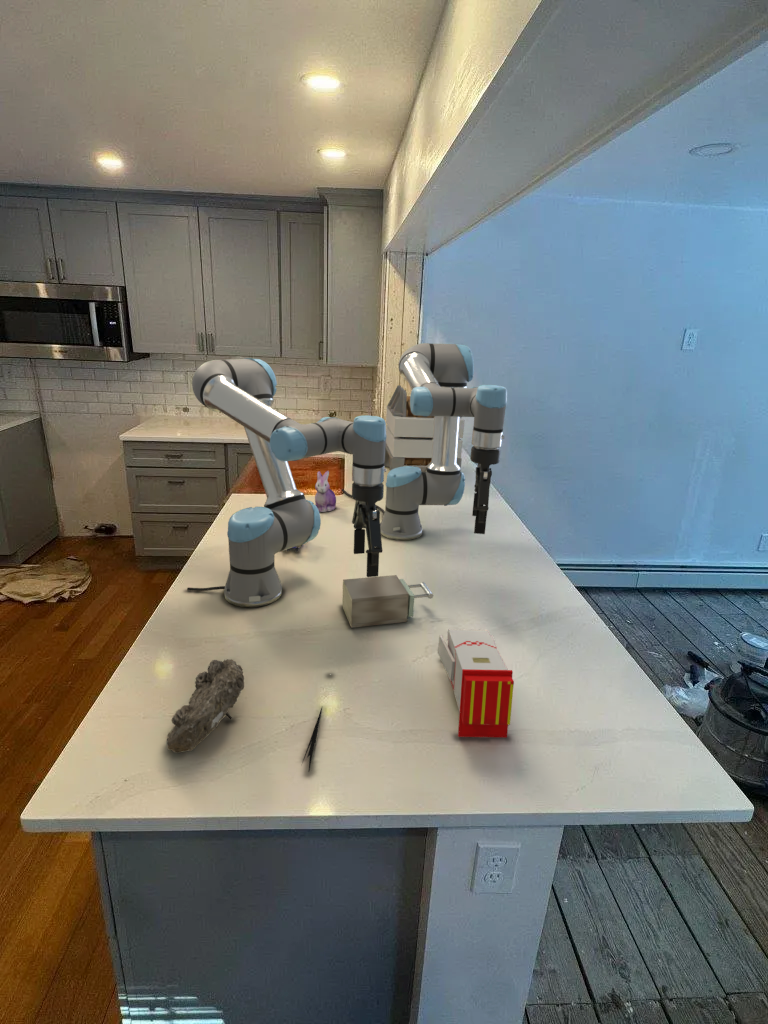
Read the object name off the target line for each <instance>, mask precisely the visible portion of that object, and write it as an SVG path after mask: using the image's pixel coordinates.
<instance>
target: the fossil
mask: <svg viewBox="0 0 768 1024" xmlns="http://www.w3.org/2000/svg"><path fill="white" fill-rule="evenodd" d="M243 670H244V669H243V667H242V665H240V664H237V662H236V661H235V660H234V659H232V658H231V659H227V658H226V659H224V660H223V661H222V660H217V659H212V660H211V661H210V663H209V665H208V666H207V671H201V672H199V673H198V674H197V675H196V676H195V680H194V684H195V685H194V687H195V689H194V690H193V693H192V694H191V697H190V698H189V700H188V704H184V705H182V706H181V707H180V709H177V710H176V711H175V713H174V715H173V716H172V718H171V723H172V724H173V727H172V730H171V731H170V732H168V734H167V738H166V741H167V742H166V745H167V749H168V750H169V751H173V752H174V753H176V754H178V753H182V752H188V751H189V752H192V751H193V750H195V748H196V747H197V746H199V744H200V743H201V742H203V741H204V740H205V739H206V738H207V737H208V736H209V735H210V734H211V733H212V732H214V730H215V729H217V727H218V726H219V724H220V722H221V721H222V720H223V719H224V718H225V716H226V717H227V719H229V720H233V717H232V715H230V714H229V710H230V709H231V708H234V706H235V704H236V703H237V702H238V699H239V697H240V695H241V693H242V691H243V690H245V689H244V688H245V675H244V671H243Z"/></svg>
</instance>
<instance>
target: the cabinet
mask: <svg viewBox="0 0 768 1024" xmlns="http://www.w3.org/2000/svg"><path fill="white" fill-rule="evenodd" d="M399 579H400V578H399V577H398V575H397V574H393V575H392V574H391V575H380V576H379V575H378V576H375V577H358V578H346V579H342V603H341V604H342V605H341V606H342V609H343V612H344V614H345V617H346V619H347V621H348V623H349V626H350V628H352V629H353V628H362V627H370V626H379V625H380V626H381V625H389V624H398V623H408V615H407V612H408V597H409V593H408V592H407V590H406V589H405V587H404V586H403V584H402V583H401V581H400V580H399Z"/></svg>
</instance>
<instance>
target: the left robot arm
mask: <svg viewBox="0 0 768 1024" xmlns="http://www.w3.org/2000/svg"><path fill="white" fill-rule="evenodd" d="M276 377H277V376H276V375H275V372H274V371H273V368H272V367H271V366H270V365H269V364H268V363H267V362H266V361H264V360H263V359H260V358H251V357H244V358H231V359H229V358H228V359H213V360H208V361H206V362H204V363H202V364H201V365H200V366H198V368H197V369H196V370H195V372H194V374H193V376H192V381H191V388H192V393H193V394H194V396H195V398H196V400H197V401H198V402H199V403H200V404H201V405H202V406H204V407H205V408H207V409H208V410H210V411H212V412H215V413H218V412H220V413H222V414H223V415H225V416H227V417H228V418H230V419H231V420H233V421H235V422H236V423H237V424H239V425H240V426H242V427H243V428H244V431H245V434H246V435H245V436H246V437H247V441H248V444H249V446H250V450H251V453H252V456H253V459H254V462H255V465H256V467H257V473H258V475H259V478H260V481H261V483H262V488H263V489H264V493H265V496H266V501H265V502H264V504H263V506H254V507H252V506H250V507H245V508H242V509H239V510H238V511H236V512H234V513H232V515H230V517H229V519H228V522H227V532H226V533H227V539H228V557H229V572H228V574H227V578H226V581H225V585H221V586H220V585H219V586H211V587H209V586H208V587H186V590H187V591H190V592H191V591H192V592H208V591H215V590H216V591H218V590H223V594H224V599H225V600H226V602H228V603H229V604H231V605H233V606H237V607H241V608H242V607H243V608H257V607H264V606H266V605H270V604H272V603H274V602H276V601H278V600H279V599H280V597H282V595H283V586H282V582H281V580H280V577H279V574H278V571H277V569H276V566H275V564H276V563H275V555H276V554H278V553H280V552H281V553H282V552H284V551H287V549H289V550H290V549H294V548H293V547H295V546H298V545H302V546H303V545H305V544H307V543H308V542H311V541H313V540H314V539H316V537H317V536H318V535H319V531H320V530H321V525H322V523H321V521H322V520H321V519H322V518H321V512H319V510H318V508H317V507H316V504H315V503H314V502H313V501H311V500H309V499H306V495H305V493H304V492H302V491H300V490H299V489H297V485H296V482H295V480H294V479H295V478H294V476H293V472H292V470H291V467H290V464H289V462H296V461H297V462H298V461H300V460H304V459H307V458H311V457H316V456H323V455H327V454H331V453H336V452H340V453H344V454H348V455H352V464H351V481H352V484H351V495H352V497H353V498H352V497H351V498H352V499H353V500H354V509H353V515H352V520H351V524H352V525H353V529H354V530H353V555H360V554H365V553H366V578H368V577H379V570H380V569H379V567H380V554H381V553H383V542H382V535H381V529H380V523H381V510H380V509H378V508H377V507H375V505H376V503H377V502H380V501H382V500H383V499H384V488H385V485H384V482H385V481H384V480H385V473H386V472H387V468H386V467H385V466H384V464H385V462H384V460H385V445H386V437H387V436H386V426H387V423H386V419H384V418H383V417H381V416H377V415H358V416H356V417H354V418H353V421H350V420H345V419H341V418H339V417H336V416H335V417H334V416H333V417H331V416H324V417H322V418H320V419H319V420H318V421H317V422H311V423H304V424H303V423H299V422H298V421H296V420H294V419H292V418H290V417H289V416H287V415H286V414H284V413H282V412H280V410H279V411H278V410H277V409H276V408H274V407H272V406H273V405H274V402H275V400H274V396H275V395H276V392H277V387H276V386H277V385H278V384H277V383H278V382H277V378H276ZM366 541H367V547H368V549H366Z"/></svg>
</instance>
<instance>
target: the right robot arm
mask: <svg viewBox="0 0 768 1024" xmlns="http://www.w3.org/2000/svg"><path fill="white" fill-rule="evenodd" d="M474 363H475V361H474V356H473V352H472V350H471V348H470V347H469V346H468V345H467V344H466V345H465V344H458V343H429V342H423V343H417V344H415V345H412V346H410V347H409V348H407V349H406V350H405V351H404V352H402V354H401V356H400V358H399V361H398V372H399V374H400V376H401V377H402V379H403V380H404V381H406V382H407V383H408V386H409V387H410V390H411V392H410V395H409V396H410V407H411V412H412V414H413V415H418V416H424V417H426V416H434V427H433V444H432V460H431V463H429V464H428V465H427V466H426V471H422V469H421V467H420V466H407V465H404V466H403V467H398V468H394V469H392V470H391V471H390V470H388V473H387V475H386V480H385V481H386V482H385V487H386V488H385V504H384V505H385V507H384V508H385V509H383V508H382V507H380V506H379V505H377V504H375V507H377V510H379V511H380V512H381V513H382V519H381V521H380V529H381V536H382V537H385V538H387V539H389V540H395V541H410V540H415V539H418V538H420V537H421V536H422V535H423V525H422V524H421V518H420V515H419V507H420V506H444V507H446V506H447V507H448V506H456V505H458V504H459V503H460V502H461V501H462V499H463V496H464V493H465V492H464V491H465V488H466V487H465V486H466V482H465V480H466V477H465V474H464V472H462V471H461V472H460V467H459V466H458V465H457V463H456V461H457V447H458V433H459V420H460V417H461V418H473V426H472V427H473V428H472V436H471V445H472V447H471V448H470V457H469V459H470V461H471V462H472V463H474V464H477V466H476V467H475V482H474V493H473V503H472V514H471V516H472V517H474V519H475V520H474V528H473V533H474V534H478V535H485V534H486V526H487V516H488V511H489V502H490V501H489V500H490V486H491V483H492V482H491V480H492V479H491V478H492V475H493V470H492V468H491V467H490V466H492V465H497V464H499V463H500V462H501V453H502V450H501V447H502V443H503V441H502V440H504V439H505V438H506V437H505V434H503V432H504V424H505V417H506V410H507V409H506V408H507V404H508V389H507V388H506V387H505V386H502V385H499V384H498V385H497V384H481V385H479V386H471V387H468V385H467V384H468V383H469V382H471V381H472V380H473V378H474V373H475V364H474ZM341 491H342V493H344V494H345V495H346V496H348V497H349V498H352V499H353V497H352V494H350V493H348V492H347V491H346V490H345V489H344V488H342V489H341Z"/></svg>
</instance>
